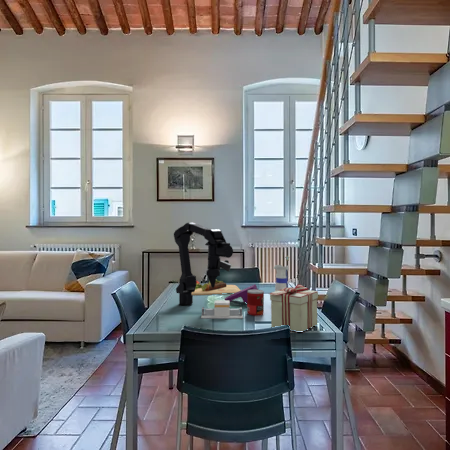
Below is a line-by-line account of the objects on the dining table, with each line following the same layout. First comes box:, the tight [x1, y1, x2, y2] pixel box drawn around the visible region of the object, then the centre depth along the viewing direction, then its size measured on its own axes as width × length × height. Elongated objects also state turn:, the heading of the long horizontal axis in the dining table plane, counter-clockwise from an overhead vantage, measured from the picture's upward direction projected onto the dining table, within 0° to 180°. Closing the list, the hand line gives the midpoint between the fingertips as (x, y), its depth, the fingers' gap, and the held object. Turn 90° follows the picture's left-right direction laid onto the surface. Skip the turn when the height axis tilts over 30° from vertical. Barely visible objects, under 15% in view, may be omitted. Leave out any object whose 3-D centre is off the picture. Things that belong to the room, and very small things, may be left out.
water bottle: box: [272, 255, 290, 292], centre depth 214 cm, size 8×9×25 cm
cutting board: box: [192, 278, 242, 296], centre depth 241 cm, size 35×23×8 cm
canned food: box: [246, 288, 265, 317], centre depth 185 cm, size 8×8×11 cm
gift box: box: [269, 284, 319, 331], centre depth 164 cm, size 17×18×17 cm
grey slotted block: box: [213, 299, 231, 316], centre depth 181 cm, size 7×6×6 cm
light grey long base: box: [200, 306, 244, 319], centre depth 181 cm, size 19×9×4 cm, turn 91°
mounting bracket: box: [224, 283, 259, 303], centre depth 209 cm, size 9×8×18 cm
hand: (213, 287), depth 188 cm, fingers closed
